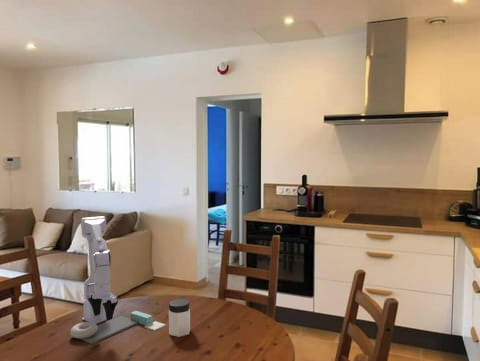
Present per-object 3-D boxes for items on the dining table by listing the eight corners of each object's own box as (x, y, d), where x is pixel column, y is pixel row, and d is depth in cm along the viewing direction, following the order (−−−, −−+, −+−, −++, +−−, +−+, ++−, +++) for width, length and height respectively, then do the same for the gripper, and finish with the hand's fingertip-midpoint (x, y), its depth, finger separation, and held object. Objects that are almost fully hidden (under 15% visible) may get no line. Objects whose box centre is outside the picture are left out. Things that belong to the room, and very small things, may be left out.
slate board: (74, 336, 153) (74, 334, 153) (121, 317, 171) (121, 315, 171) (91, 344, 146) (91, 342, 146) (138, 323, 164) (138, 321, 164)
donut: (81, 333, 146) (64, 328, 151) (82, 342, 146) (64, 336, 151) (103, 323, 155) (86, 318, 160) (103, 331, 155) (86, 327, 160)
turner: (127, 322, 166) (127, 314, 166) (138, 317, 171) (138, 309, 171) (154, 331, 157) (154, 322, 157) (165, 325, 162) (165, 317, 162)
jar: (170, 327, 160) (170, 298, 160) (191, 327, 161) (190, 298, 160) (167, 337, 152) (167, 307, 151) (189, 337, 152) (188, 306, 151)
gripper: (81, 281, 152) (82, 316, 152) (105, 288, 143) (106, 325, 144) (97, 277, 157) (98, 310, 158) (121, 283, 149) (121, 318, 150)
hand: (103, 317), depth 151 cm, fingers open, 7 cm apart
